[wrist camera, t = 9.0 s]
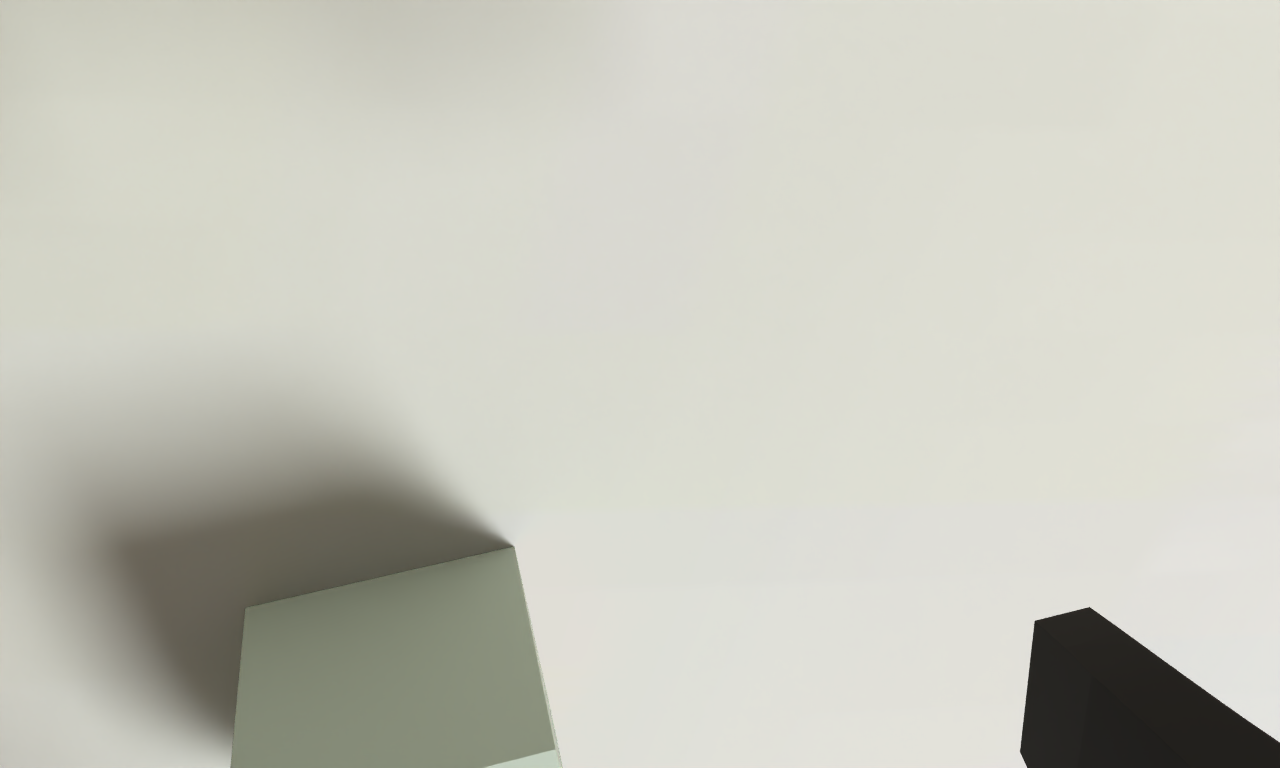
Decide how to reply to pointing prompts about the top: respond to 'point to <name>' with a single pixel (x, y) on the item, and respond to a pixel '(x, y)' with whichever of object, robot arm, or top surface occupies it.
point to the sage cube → (397, 674)
